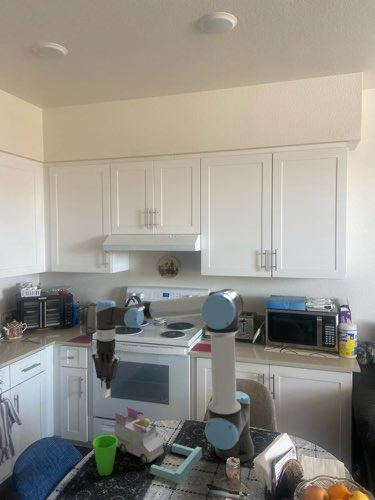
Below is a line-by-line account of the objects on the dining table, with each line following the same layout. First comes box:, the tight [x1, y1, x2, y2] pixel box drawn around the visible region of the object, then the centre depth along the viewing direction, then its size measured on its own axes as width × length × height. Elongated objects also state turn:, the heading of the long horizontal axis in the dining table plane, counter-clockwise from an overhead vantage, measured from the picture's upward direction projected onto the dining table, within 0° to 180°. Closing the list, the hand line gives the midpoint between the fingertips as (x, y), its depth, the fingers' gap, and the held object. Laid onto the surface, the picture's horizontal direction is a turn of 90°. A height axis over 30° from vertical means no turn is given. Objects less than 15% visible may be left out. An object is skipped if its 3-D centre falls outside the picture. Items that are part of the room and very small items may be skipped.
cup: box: [91, 434, 118, 476], centre depth 135 cm, size 9×9×11 cm
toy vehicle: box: [114, 406, 165, 465], centre depth 146 cm, size 9×20×15 cm, turn 53°
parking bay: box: [150, 443, 203, 485], centre depth 139 cm, size 12×18×4 cm, turn 153°
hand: (106, 396), depth 153 cm, fingers closed
